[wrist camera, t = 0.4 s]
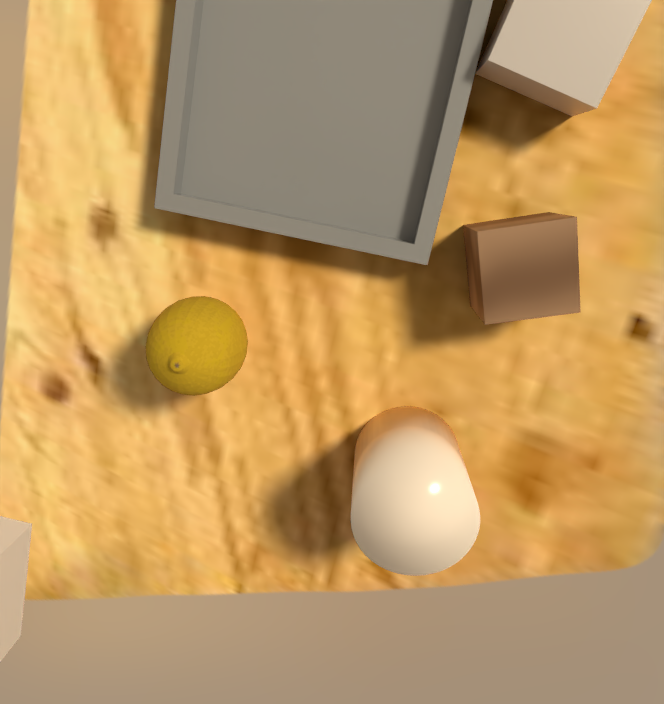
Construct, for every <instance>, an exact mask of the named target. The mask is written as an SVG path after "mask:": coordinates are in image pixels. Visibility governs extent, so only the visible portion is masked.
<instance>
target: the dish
mask: <svg viewBox="0 0 664 704" xmlns="http://www.w3.org/2000/svg"><path fill="white" fill-rule="evenodd" d="M492 3H493V0H176V7H175V16H174V26H173V35H172V45H171V54H170V64H169V73H168V83H167V92H166V102H165V111H164V121H163V130H162V140H161V149H160V159H159V168H158V178H157V187H156V197H155V206H154V208H156V209H161V210H166V211H170V212H175V213H180V214H185V215H190V216H194V217H199V218H204V219H209V220H213V221H218V222H223V223H228V224H233V225H237V226H242V227H247V228H252V229H256V230H261V231H266V232H271V233H276V234H280V235H285V236H290V237H295V238H299V239H304V240H309V241H314V242H319V243H323V244H328V245H333V246H338V247H342V248H347V249H352V250H357V251H362V252H366V253H371V254H376V255H381V256H385V257H390V258H395V259H400V260H405V261H409V262H414V263H419V264H424V265H428V261H429V257H430V253H431V249H432V245H433V241H434V237H435V233H436V229H437V225H438V221H439V217H440V213H441V209H442V205H443V201H444V197H445V193H446V188H447V184H448V180H449V176H450V172H451V168H452V164H453V160H454V156H455V152H456V148H457V144H458V140H459V136H460V132H461V128H462V124H463V120H464V116H465V112H466V108H467V104H468V100H469V96H470V92H471V88H472V84H473V80H474V76H475V71H476V67H477V63H478V59H479V55H480V51H481V47H482V43H483V39H484V35H485V31H486V27H487V23H488V19H489V15H490V11H491V7H492Z"/></svg>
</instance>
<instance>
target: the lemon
mask: <svg viewBox="0 0 664 704" xmlns="http://www.w3.org/2000/svg"><path fill="white" fill-rule="evenodd" d="M247 344H248V340H247V333H246V329H245V326H244V324H243V321H242V319H241V318H240V317H239V315H238V314H237V313H236V311H235V310H233V309H232V308H231V307H230V306H229V305H227V304H226V303H224V302H222V301H220V300H218V299H214V298H210V297H205V296H201V297H189V298H186V299H182V300H179V301H177V302H175V303H174V304H172V305H170V306H169V307H167V308H166V309H165V310H164V311H163V312H162V313H161V314H160V315H159V316H158V317H157V318H156V320H155V321H154V323H153V325H152V327H151V329H150V331H149V333H148V337H147V342H146V358H147V362H148V365H149V368H150V370H151V371H152V373H153V375H154V376H155V378H156V379H157V380H158V381H159V382H160V383H161V384H162V385H164V386H165V387H167V388H168V389H170V390H171V391H174V392H177V393H180V394H185V395H201V394H207V393H209V392H212V391H214V390H217V389H219V388H221V387H222V386H224V385H225V384H226V383H228V382H229V381H230V380H232V379H233V378H234V376H235V375H236V374H237V372H238V371H239V370H240V368H241V367H242V364H243V362H244V359H245V357H246V354H247Z"/></svg>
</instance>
